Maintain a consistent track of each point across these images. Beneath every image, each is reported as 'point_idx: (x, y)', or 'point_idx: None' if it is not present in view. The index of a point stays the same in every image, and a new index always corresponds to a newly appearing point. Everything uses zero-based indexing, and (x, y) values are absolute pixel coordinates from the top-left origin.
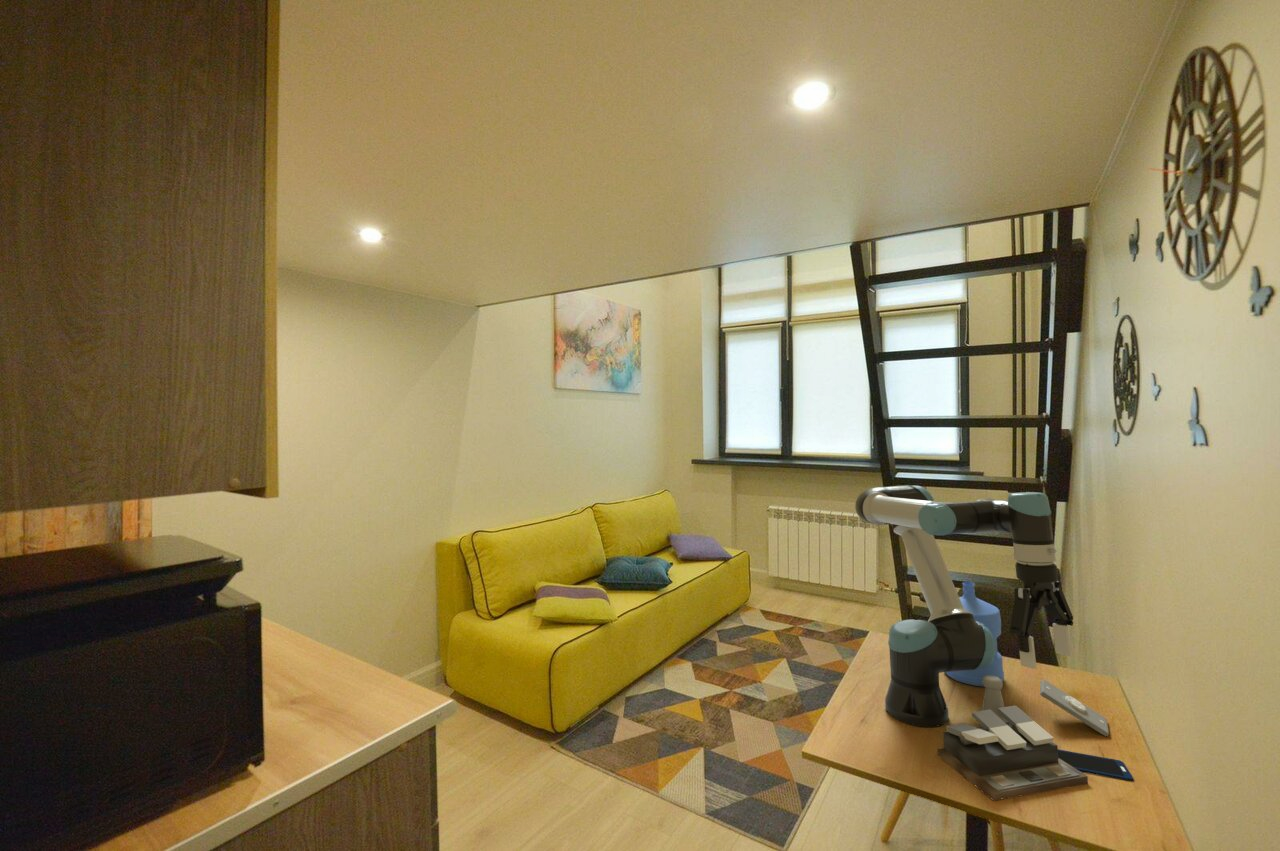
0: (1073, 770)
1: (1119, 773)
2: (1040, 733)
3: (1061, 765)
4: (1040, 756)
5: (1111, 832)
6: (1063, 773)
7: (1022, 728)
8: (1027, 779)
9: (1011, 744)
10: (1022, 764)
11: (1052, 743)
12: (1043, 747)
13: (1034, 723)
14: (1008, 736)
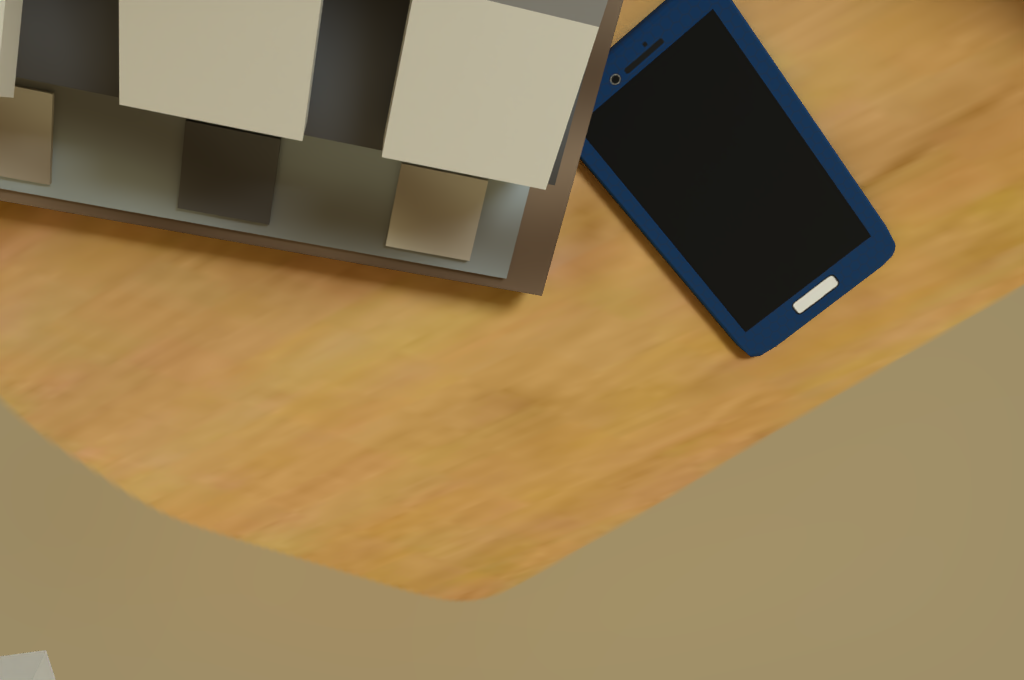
0: (528, 236)
1: (753, 309)
2: (497, 130)
3: (513, 184)
4: None
5: (255, 504)
6: (430, 244)
7: (417, 38)
8: (179, 184)
9: (162, 108)
10: None
11: None
12: None
13: (571, 46)
14: (210, 48)
